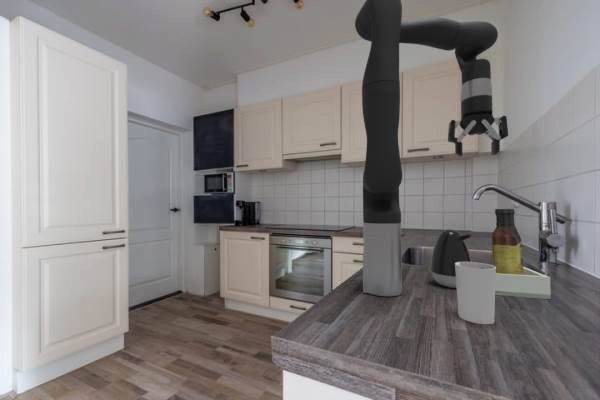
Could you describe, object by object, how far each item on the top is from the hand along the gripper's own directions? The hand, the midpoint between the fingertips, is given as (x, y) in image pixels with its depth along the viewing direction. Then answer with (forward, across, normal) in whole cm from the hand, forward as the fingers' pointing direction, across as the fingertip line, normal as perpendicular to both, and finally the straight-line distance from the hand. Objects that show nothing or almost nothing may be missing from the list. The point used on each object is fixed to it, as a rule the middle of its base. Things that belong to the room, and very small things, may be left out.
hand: (477, 155), depth 77 cm
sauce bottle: (+35, +5, -5) cm, 36 cm away
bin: (+36, +5, -5) cm, 37 cm away
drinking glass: (+36, -9, -28) cm, 47 cm away
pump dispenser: (+36, -8, -5) cm, 38 cm away
